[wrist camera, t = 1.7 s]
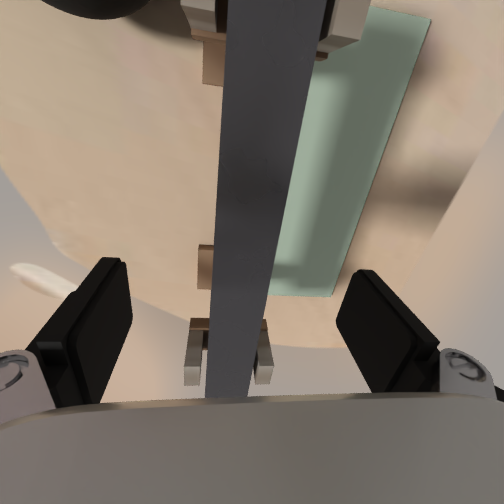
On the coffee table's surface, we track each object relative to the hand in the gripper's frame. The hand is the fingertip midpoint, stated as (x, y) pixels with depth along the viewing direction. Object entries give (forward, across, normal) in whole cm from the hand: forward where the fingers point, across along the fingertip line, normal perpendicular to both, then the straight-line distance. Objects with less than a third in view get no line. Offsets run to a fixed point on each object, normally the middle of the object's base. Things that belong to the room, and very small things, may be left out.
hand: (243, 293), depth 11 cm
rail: (+5, 0, -1) cm, 5 cm away
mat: (+15, -9, -1) cm, 18 cm away
